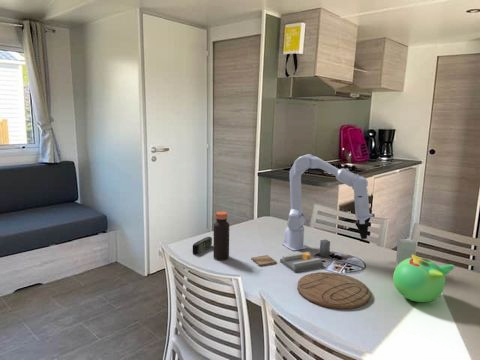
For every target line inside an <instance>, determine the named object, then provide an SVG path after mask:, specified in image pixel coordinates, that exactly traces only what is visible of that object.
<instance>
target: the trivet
mask: <svg viewBox="0 0 480 360" xmlns="http://www.w3.org/2000/svg"><path fill="white" fill-rule="evenodd" d="M297 291H298V294H299V295H300V296H301V298H302V299H304V300H306V301H307V302H309V303H311V304H314V305H316V306H318V307H321V308H326V309H333V310H338V311H339V310H343V311H345V310H346V311H347V310H354V309H359V308H361V307H364V306H366V304H368V303H369V301H370V299H371V292H370V288H369V287H368V286H367V285H366V284H365V283H364V282H363V281H360V280H359V279H358V278H355V277H352V276H349V275H347V274H342V273H338V272H330V271H328V272H327V271H325V272H322V271H320V272H312V273H309V274H308V273H307V274H305V275H304V276H301V277H300V278H299V280H298V281H297Z"/></svg>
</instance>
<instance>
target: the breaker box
mask: <svg viewBox="0 0 480 360" xmlns="http://www.w3.org/2000/svg"><path fill="white" fill-rule="evenodd" d="M306 252H307V253H309V254H310V255H311V252H309V251H305V252H300V253H294V254H288V255H283V256H282V258H280V261H279V263H281V264H282V265H283V266H284V267H286V268H288V269H289V270H290V271H291V272H293V273H299V272H305V271H310V270H314V269H320V268H323V267H324V262H322V259H321V258H319V257H316V258H315V257H313V256H312V255H311V260H304V259H302V258H303V253H306Z"/></svg>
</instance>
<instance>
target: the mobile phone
mask: <svg viewBox="0 0 480 360" xmlns="http://www.w3.org/2000/svg"><path fill="white" fill-rule="evenodd" d="M212 244H213V237H211V236H206V237H202V238H201V239H200V240H197V241H196V242H194V243H193V244H192V254H193V255H196V254H197V255H199V254H200V253H202V252H204V251H206V250H208V249H210V247H211V246H212ZM207 248H208V249H207ZM205 249H206V250H205ZM203 250H204V251H203ZM201 251H202V252H201ZM198 253H199V254H198Z"/></svg>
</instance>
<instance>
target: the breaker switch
mask: <svg viewBox="0 0 480 360" xmlns="http://www.w3.org/2000/svg"><path fill="white" fill-rule="evenodd" d="M305 252H306V253H304V252H302V253H303V258H302V259H304V260H311V256H312V255H311V253H310V252H309V253H310V254H309V253H307V252H308V251H305Z"/></svg>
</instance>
